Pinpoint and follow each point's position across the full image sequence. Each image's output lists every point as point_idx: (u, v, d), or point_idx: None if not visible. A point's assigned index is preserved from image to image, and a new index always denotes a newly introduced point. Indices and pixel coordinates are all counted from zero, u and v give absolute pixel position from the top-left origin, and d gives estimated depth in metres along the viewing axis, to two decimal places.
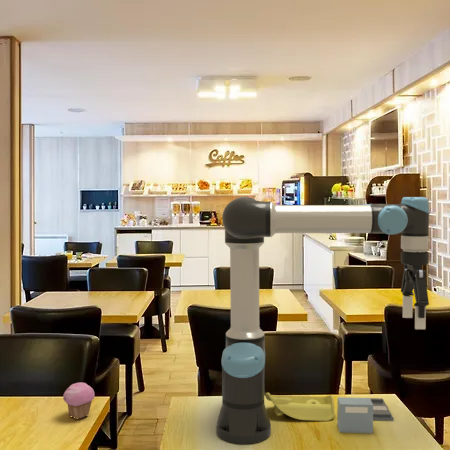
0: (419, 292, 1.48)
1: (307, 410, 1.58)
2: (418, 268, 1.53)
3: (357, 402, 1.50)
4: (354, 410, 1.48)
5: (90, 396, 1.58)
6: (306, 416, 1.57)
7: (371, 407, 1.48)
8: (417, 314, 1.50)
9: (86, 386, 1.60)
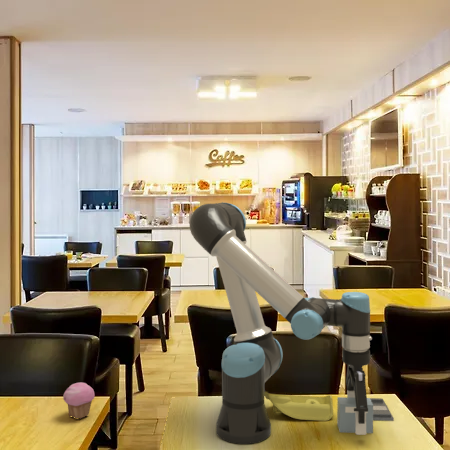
0: (358, 397, 1.42)
1: (305, 410, 1.58)
2: (359, 369, 1.46)
3: None
4: None
5: (90, 396, 1.58)
6: (304, 416, 1.57)
7: (371, 407, 1.48)
8: (357, 419, 1.43)
9: (86, 386, 1.60)
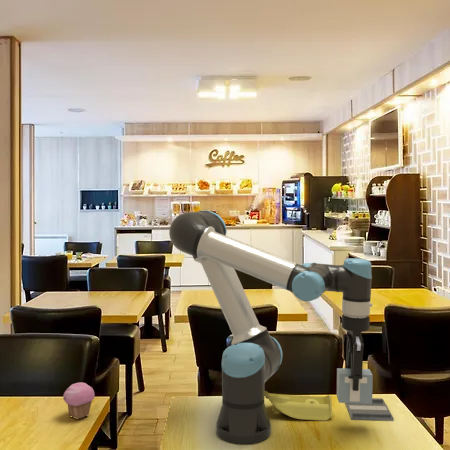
0: (354, 366, 1.44)
1: (304, 409, 1.58)
2: (358, 335, 1.46)
3: None
4: None
5: (90, 396, 1.58)
6: (303, 415, 1.58)
7: (371, 377, 1.48)
8: (351, 386, 1.47)
9: (86, 386, 1.60)
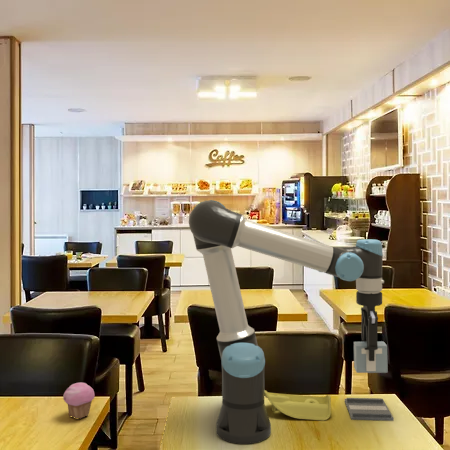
0: (370, 338, 1.56)
1: (303, 409, 1.59)
2: (372, 309, 1.58)
3: None
4: None
5: (90, 396, 1.58)
6: (302, 415, 1.58)
7: (385, 348, 1.60)
8: (368, 357, 1.59)
9: (86, 386, 1.60)
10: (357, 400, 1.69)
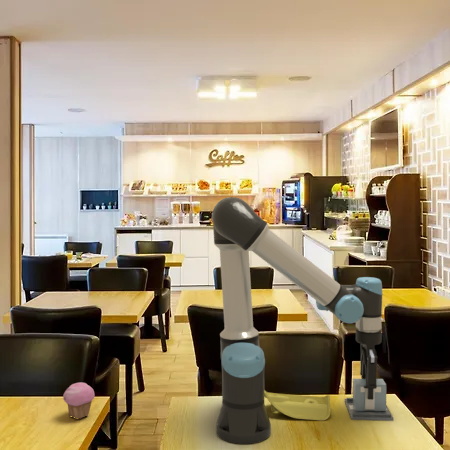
0: (369, 377, 1.57)
1: (303, 409, 1.59)
2: (371, 348, 1.59)
3: None
4: None
5: (89, 396, 1.58)
6: (301, 415, 1.58)
7: (384, 387, 1.60)
8: (366, 395, 1.60)
9: (86, 386, 1.60)
10: None
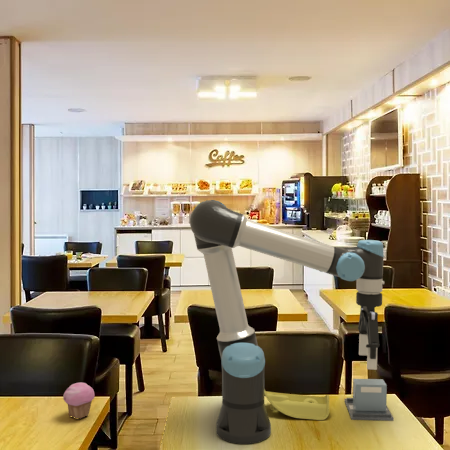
0: (371, 334, 1.54)
1: (302, 408, 1.59)
2: (371, 310, 1.58)
3: (371, 382, 1.62)
4: (369, 389, 1.61)
5: (90, 396, 1.58)
6: (300, 414, 1.58)
7: (385, 387, 1.60)
8: (369, 355, 1.55)
9: (86, 386, 1.60)
10: None
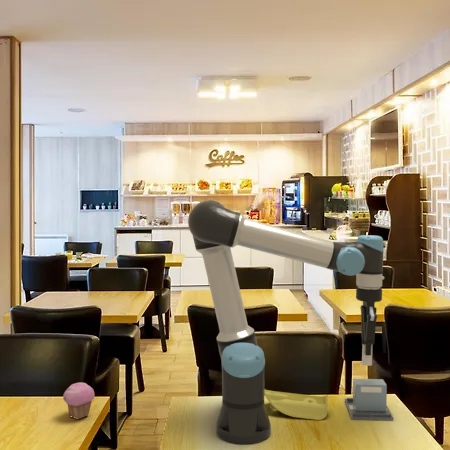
0: (367, 334, 1.58)
1: (300, 408, 1.60)
2: (371, 305, 1.58)
3: (371, 382, 1.62)
4: (369, 389, 1.61)
5: (90, 396, 1.58)
6: (298, 413, 1.59)
7: (385, 387, 1.60)
8: (364, 351, 1.62)
9: (86, 386, 1.60)
10: None
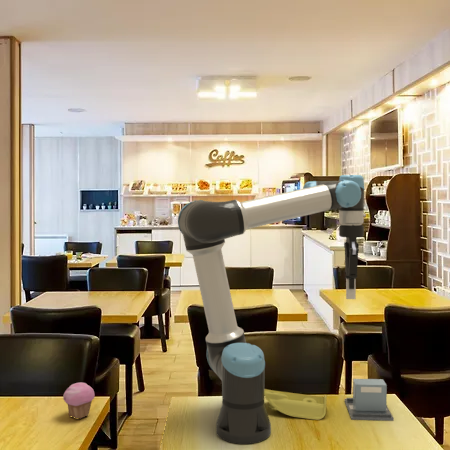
0: (350, 267, 1.66)
1: (298, 407, 1.60)
2: (353, 240, 1.66)
3: (371, 382, 1.62)
4: (369, 389, 1.61)
5: (89, 396, 1.58)
6: (296, 413, 1.59)
7: (385, 387, 1.60)
8: (348, 286, 1.70)
9: (86, 386, 1.60)
10: None
